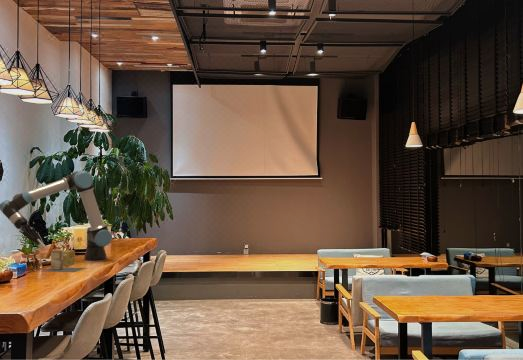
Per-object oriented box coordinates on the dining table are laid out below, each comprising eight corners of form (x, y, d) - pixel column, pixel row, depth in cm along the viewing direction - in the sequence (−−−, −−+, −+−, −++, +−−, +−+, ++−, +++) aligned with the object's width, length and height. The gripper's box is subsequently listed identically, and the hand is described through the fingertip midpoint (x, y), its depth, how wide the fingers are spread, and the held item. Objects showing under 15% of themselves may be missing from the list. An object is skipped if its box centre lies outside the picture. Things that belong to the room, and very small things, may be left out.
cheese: (66, 267, 320) (66, 252, 320) (51, 267, 322) (51, 251, 322) (75, 265, 330) (75, 250, 330) (60, 264, 332) (60, 249, 332)
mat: (55, 268, 317) (55, 267, 317) (87, 268, 314) (87, 267, 314) (40, 272, 302) (40, 271, 302) (74, 273, 299) (74, 272, 299)
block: (55, 268, 311) (55, 249, 312) (62, 268, 311) (63, 249, 311) (51, 270, 306) (51, 250, 307) (58, 270, 306) (58, 250, 306)
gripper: (21, 224, 319) (45, 250, 317) (8, 225, 306) (33, 253, 304) (29, 216, 319) (53, 242, 316) (16, 217, 306) (41, 244, 303)
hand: (43, 247), depth 310 cm, fingers closed
